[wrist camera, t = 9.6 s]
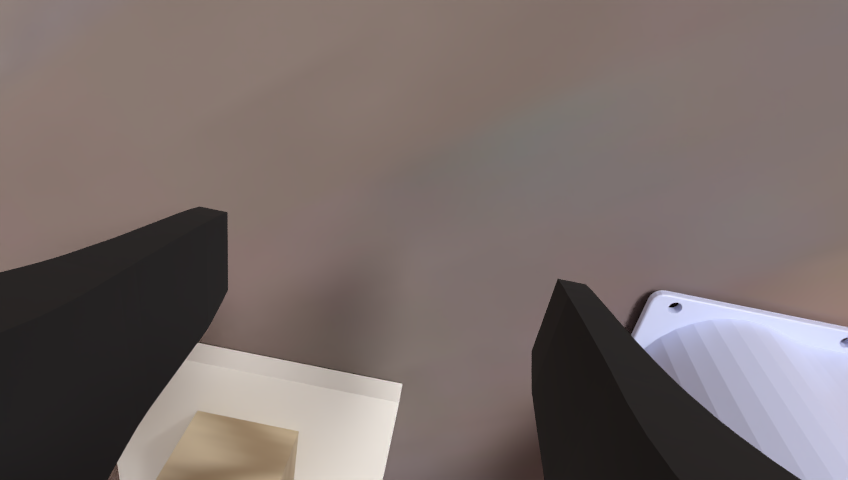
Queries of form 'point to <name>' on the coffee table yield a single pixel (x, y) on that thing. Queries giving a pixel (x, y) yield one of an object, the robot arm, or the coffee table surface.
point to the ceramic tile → (273, 413)
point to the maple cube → (232, 451)
